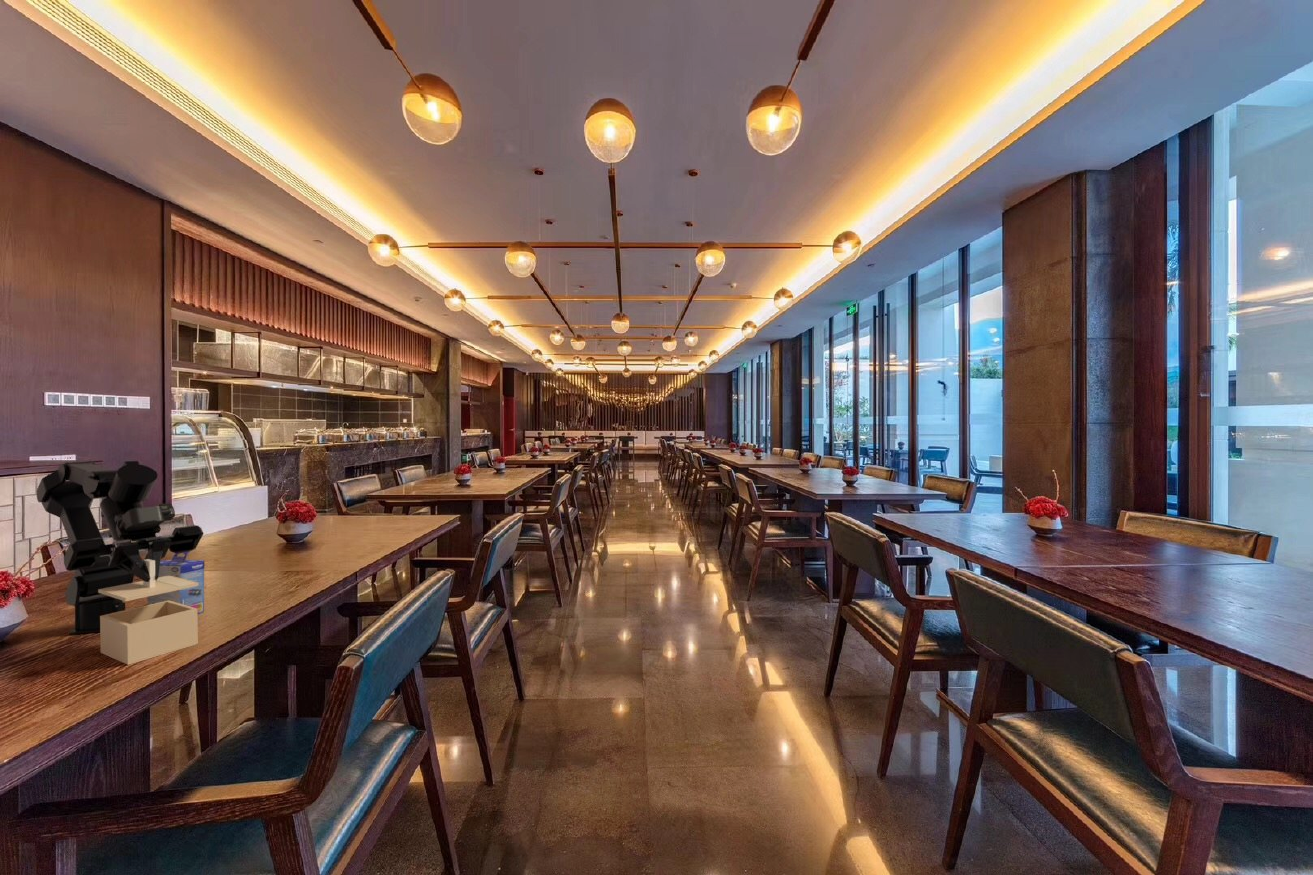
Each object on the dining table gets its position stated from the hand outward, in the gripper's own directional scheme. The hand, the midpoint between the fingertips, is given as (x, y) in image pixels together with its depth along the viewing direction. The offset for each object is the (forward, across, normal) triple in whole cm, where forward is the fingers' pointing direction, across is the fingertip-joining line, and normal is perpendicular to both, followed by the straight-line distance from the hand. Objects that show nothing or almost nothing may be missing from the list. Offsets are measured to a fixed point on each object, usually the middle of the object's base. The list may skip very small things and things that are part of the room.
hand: (152, 579), depth 97 cm
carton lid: (0, 0, +2) cm, 2 cm away
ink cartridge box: (-5, +11, +25) cm, 28 cm away
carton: (+9, 0, +10) cm, 14 cm away
